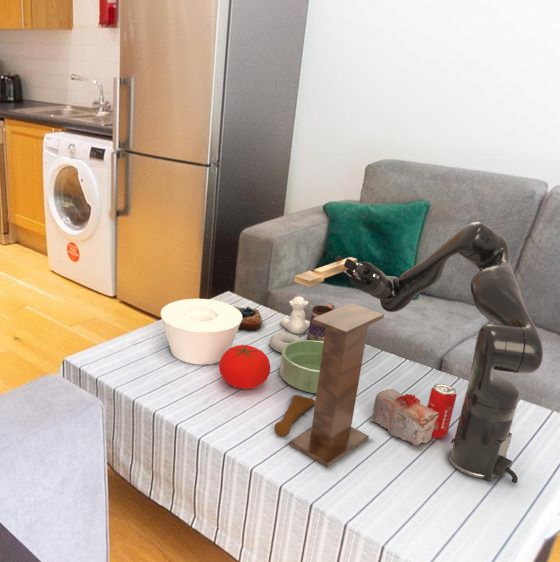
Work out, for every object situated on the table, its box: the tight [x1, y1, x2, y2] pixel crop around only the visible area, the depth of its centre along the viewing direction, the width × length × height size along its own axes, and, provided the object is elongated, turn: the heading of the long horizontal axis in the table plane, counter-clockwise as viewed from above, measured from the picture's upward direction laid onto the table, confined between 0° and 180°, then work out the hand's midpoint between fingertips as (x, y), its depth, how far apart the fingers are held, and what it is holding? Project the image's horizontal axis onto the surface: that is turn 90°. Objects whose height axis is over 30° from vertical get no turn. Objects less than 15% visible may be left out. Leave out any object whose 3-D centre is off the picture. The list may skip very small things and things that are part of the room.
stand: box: [289, 302, 385, 468], centre depth 130 cm, size 10×16×32 cm, turn 128°
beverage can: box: [427, 383, 457, 440], centre depth 137 cm, size 5×5×12 cm
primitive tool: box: [273, 394, 316, 437], centre depth 144 cm, size 19×6×4 cm, turn 150°
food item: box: [371, 388, 439, 447], centre depth 137 cm, size 14×8×10 cm, turn 32°
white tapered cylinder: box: [160, 298, 242, 365], centre depth 175 cm, size 24×24×12 cm
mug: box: [306, 302, 336, 342], centre depth 181 cm, size 10×7×12 cm
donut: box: [269, 332, 302, 354], centre depth 178 cm, size 10×4×10 cm
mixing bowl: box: [279, 339, 324, 394], centre depth 161 cm, size 19×19×7 cm
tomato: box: [218, 344, 271, 390], centre depth 158 cm, size 14×13×10 cm
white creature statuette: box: [280, 296, 310, 335], centre depth 189 cm, size 10×9×12 cm
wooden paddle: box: [293, 256, 358, 288], centre depth 151 cm, size 22×4×2 cm, turn 128°
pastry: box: [232, 305, 263, 332], centre depth 194 cm, size 11×12×6 cm
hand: (341, 260), depth 153 cm, fingers closed on wooden paddle, 2 cm apart
